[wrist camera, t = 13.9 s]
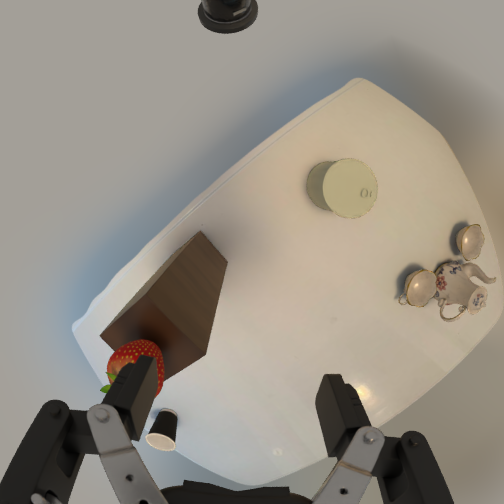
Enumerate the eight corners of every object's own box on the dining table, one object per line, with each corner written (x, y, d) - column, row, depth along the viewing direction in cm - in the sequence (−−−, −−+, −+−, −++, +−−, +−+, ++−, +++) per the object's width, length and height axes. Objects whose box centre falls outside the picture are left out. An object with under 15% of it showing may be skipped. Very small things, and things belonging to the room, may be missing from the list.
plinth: (200, 230, 52) (145, 293, 23) (227, 262, 54) (206, 355, 25) (170, 256, 53) (99, 335, 24) (197, 286, 55) (153, 387, 26)
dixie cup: (185, 423, 66) (179, 452, 55) (160, 422, 66) (151, 449, 55) (178, 405, 64) (169, 435, 53) (151, 404, 64) (140, 432, 53)
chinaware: (460, 207, 53) (504, 212, 36) (483, 258, 54) (523, 273, 38) (383, 284, 57) (417, 311, 41) (413, 330, 59) (446, 363, 42)
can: (347, 214, 52) (372, 225, 40) (302, 204, 51) (317, 212, 39) (356, 168, 49) (384, 167, 38) (311, 156, 49) (329, 150, 37)
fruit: (176, 371, 25) (157, 429, 18) (129, 363, 25) (100, 415, 17) (173, 326, 24) (146, 382, 16) (121, 319, 24) (83, 368, 16)
